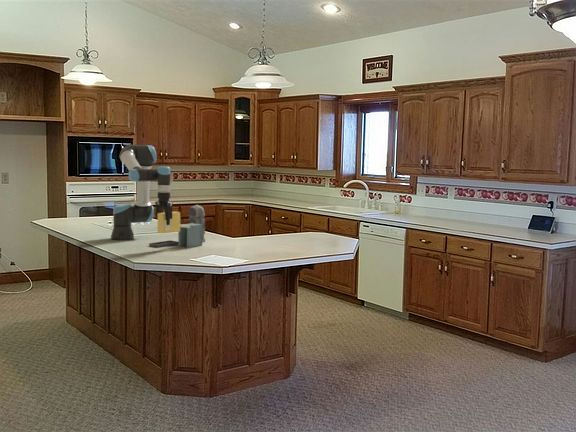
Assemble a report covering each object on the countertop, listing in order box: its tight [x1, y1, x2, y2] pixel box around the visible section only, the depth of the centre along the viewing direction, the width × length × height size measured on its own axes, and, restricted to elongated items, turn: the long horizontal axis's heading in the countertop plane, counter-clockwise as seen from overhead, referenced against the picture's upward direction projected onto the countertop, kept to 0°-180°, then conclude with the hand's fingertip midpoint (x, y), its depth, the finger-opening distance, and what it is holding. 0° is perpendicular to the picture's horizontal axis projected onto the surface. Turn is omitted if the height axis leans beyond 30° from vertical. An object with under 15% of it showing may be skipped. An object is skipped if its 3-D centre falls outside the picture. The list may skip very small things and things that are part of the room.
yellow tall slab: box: [157, 211, 181, 234], centre depth 374 cm, size 5×14×12 cm, turn 143°
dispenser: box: [177, 223, 203, 249], centre depth 389 cm, size 9×12×14 cm
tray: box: [148, 239, 178, 249], centre depth 389 cm, size 9×18×2 cm, turn 143°
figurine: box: [187, 204, 206, 243], centre depth 408 cm, size 10×14×25 cm
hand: (163, 229), depth 371 cm, fingers closed on yellow tall slab, 5 cm apart
